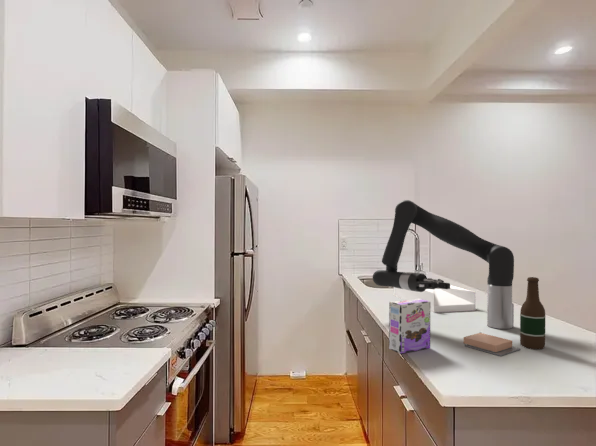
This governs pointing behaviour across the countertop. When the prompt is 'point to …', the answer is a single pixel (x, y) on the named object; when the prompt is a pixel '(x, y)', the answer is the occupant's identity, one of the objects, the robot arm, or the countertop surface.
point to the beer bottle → (532, 318)
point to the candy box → (409, 325)
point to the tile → (488, 342)
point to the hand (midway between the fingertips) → (448, 286)
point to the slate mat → (496, 352)
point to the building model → (442, 298)
